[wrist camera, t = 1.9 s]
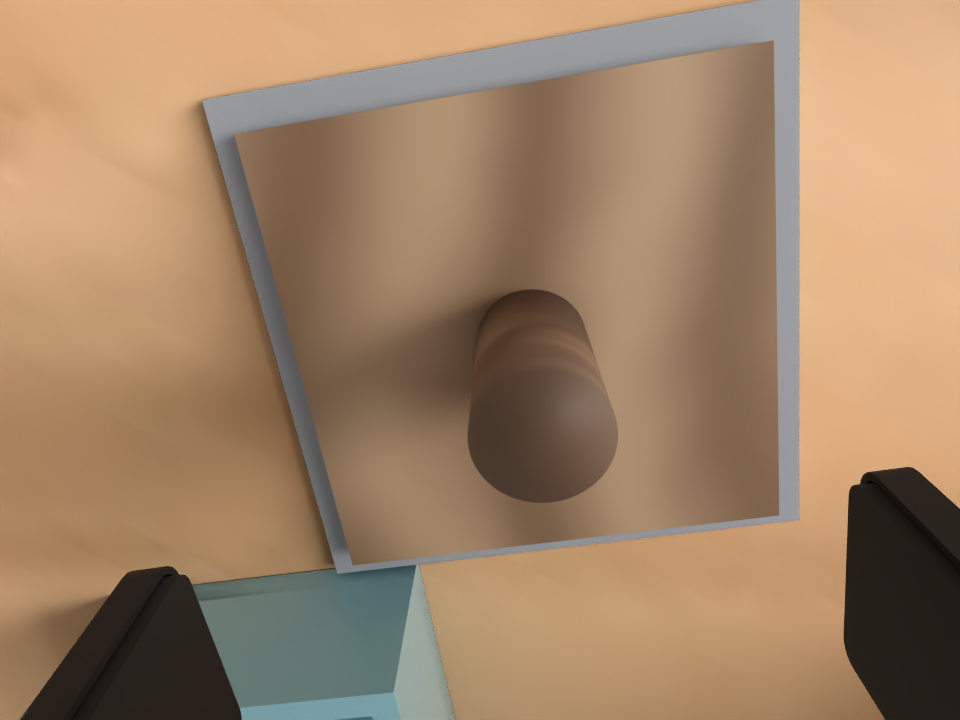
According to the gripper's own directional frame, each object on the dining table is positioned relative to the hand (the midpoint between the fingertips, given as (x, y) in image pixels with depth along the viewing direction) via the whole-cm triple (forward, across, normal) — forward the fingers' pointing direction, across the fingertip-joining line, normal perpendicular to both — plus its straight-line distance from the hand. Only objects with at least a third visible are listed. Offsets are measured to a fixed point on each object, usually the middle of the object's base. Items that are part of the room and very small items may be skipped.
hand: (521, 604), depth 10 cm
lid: (+12, -1, 0) cm, 12 cm away
